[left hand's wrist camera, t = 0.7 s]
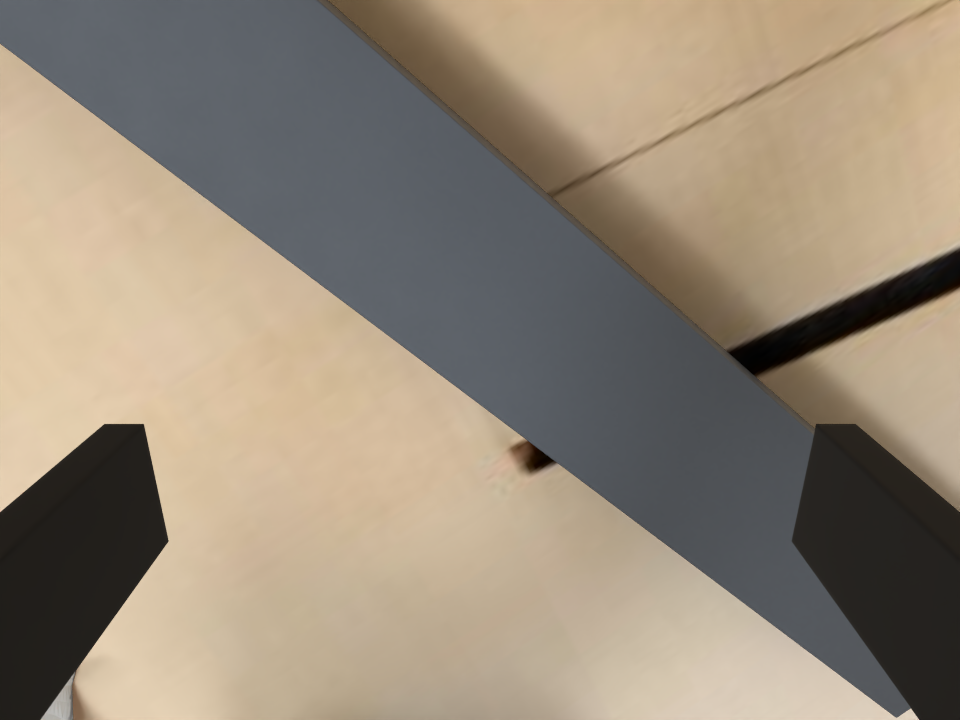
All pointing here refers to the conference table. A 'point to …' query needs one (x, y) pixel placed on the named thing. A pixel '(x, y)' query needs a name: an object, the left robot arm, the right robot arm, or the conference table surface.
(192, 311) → the conference table surface
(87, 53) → the long grey beam
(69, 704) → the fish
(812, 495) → the left robot arm
